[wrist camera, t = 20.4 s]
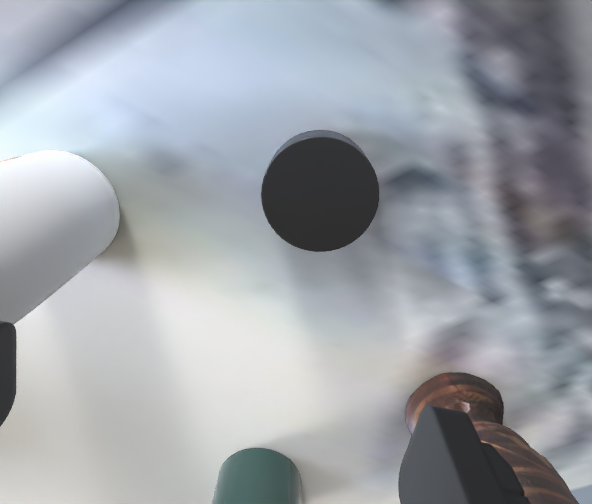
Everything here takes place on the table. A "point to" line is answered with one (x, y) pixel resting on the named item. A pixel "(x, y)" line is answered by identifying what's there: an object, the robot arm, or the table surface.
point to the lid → (320, 191)
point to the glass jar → (258, 479)
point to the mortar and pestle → (492, 432)
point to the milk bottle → (50, 225)
